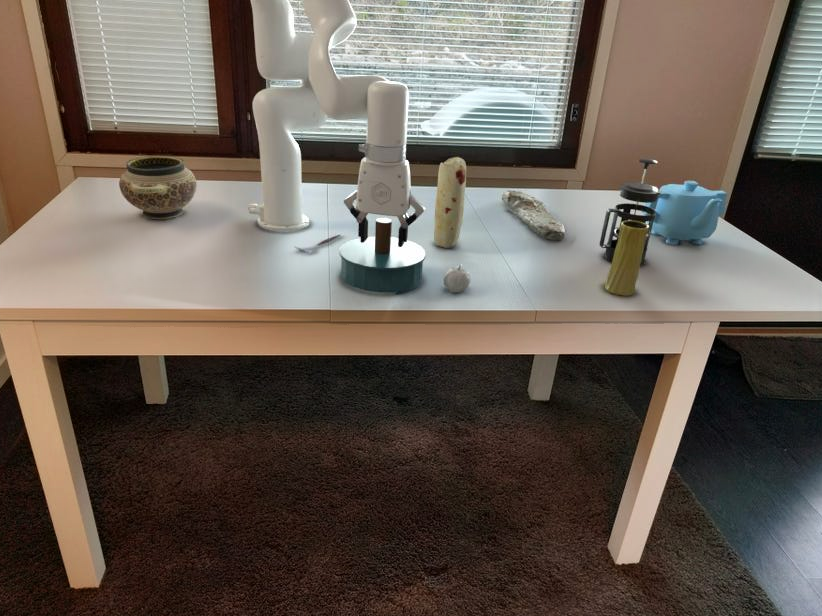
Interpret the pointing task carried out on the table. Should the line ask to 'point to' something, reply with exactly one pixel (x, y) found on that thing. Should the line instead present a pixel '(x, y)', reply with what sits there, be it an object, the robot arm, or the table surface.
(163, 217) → the ceramic bowl
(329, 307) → the table surface
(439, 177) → the food model
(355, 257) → the lid
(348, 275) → the pot
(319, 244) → the fork
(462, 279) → the garlic
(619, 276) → the vase
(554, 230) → the elongated rock
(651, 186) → the french press
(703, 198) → the teapot
